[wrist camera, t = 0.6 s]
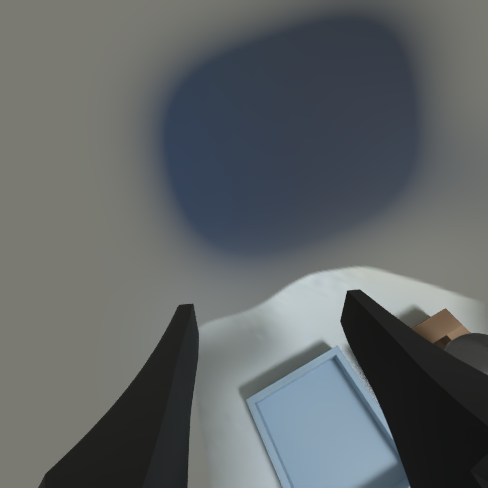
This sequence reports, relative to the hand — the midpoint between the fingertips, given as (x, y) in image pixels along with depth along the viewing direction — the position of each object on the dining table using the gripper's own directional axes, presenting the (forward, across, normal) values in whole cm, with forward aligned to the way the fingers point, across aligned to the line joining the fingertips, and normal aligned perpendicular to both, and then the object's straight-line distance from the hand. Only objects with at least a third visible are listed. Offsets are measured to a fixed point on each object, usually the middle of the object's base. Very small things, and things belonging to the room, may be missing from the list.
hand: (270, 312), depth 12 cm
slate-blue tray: (+2, -6, +18) cm, 19 cm away
